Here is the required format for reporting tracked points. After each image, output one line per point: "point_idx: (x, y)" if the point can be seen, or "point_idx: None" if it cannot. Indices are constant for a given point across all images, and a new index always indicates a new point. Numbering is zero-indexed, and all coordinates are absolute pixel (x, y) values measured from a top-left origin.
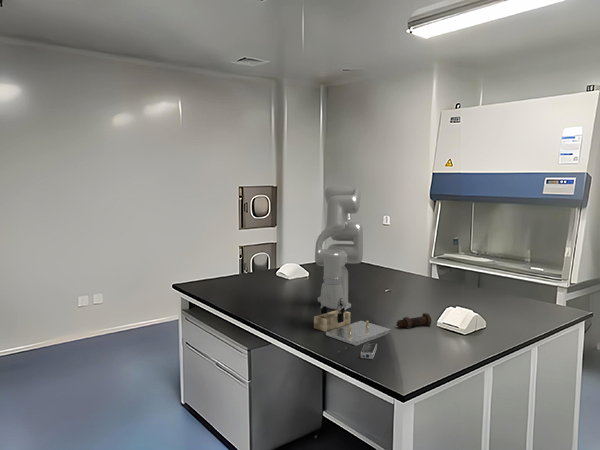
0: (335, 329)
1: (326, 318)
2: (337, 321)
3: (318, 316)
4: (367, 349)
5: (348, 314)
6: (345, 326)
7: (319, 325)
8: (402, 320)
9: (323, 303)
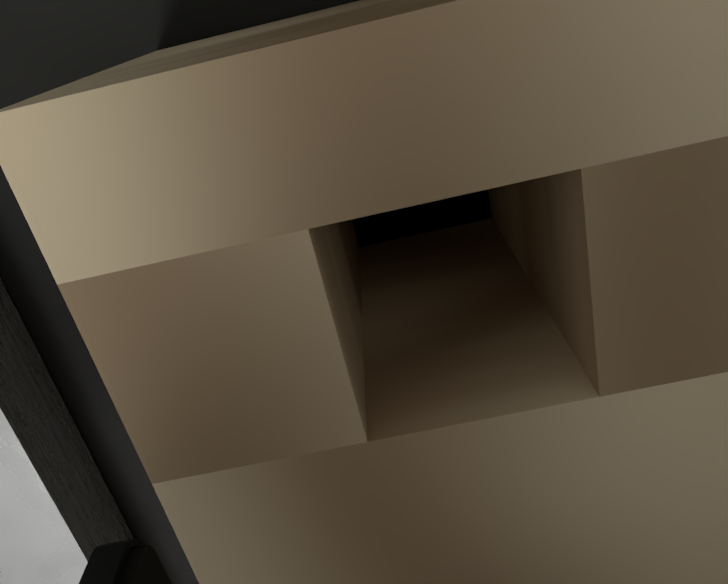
0: None
1: (191, 324)
2: (140, 559)
3: (702, 158)
4: None
5: None
6: (50, 575)
7: (376, 3)
8: None
9: None
